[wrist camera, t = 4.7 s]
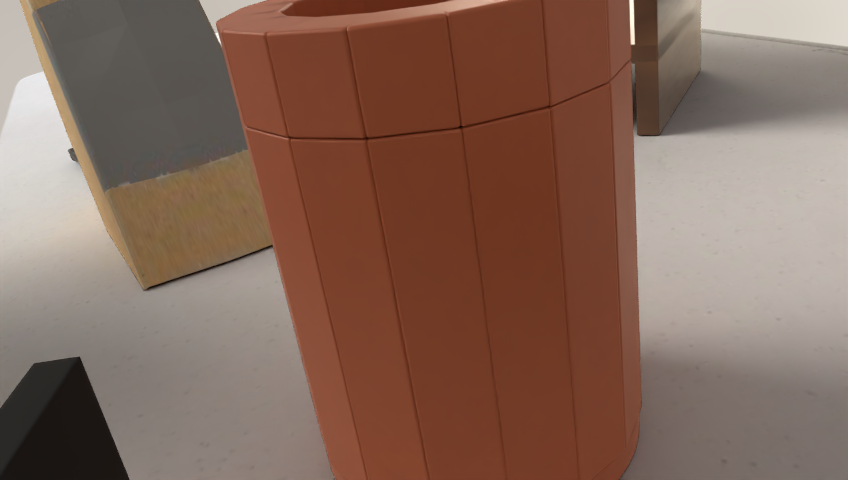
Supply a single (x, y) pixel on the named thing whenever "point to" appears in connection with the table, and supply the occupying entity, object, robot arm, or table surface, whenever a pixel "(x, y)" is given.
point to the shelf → (663, 57)
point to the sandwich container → (153, 130)
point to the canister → (452, 227)
